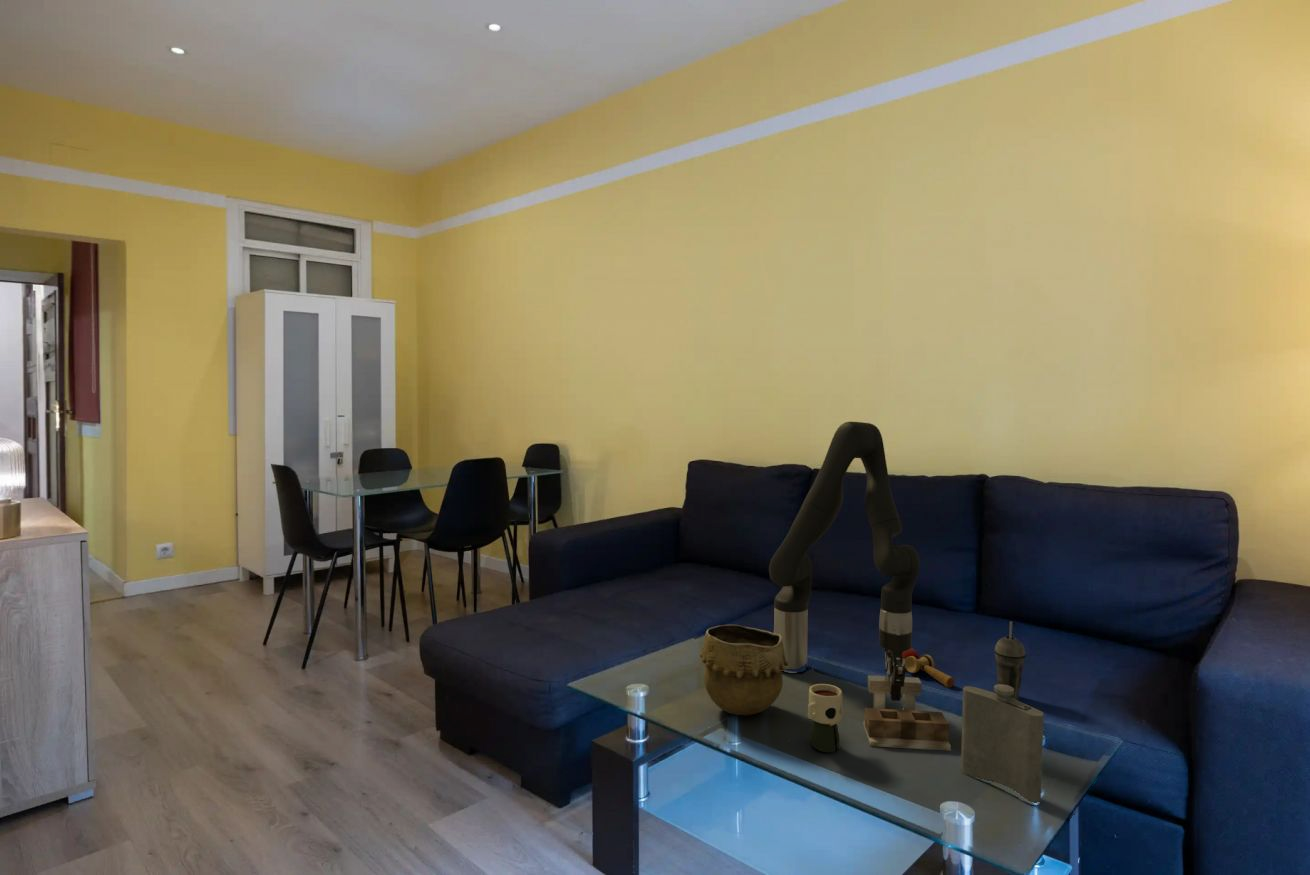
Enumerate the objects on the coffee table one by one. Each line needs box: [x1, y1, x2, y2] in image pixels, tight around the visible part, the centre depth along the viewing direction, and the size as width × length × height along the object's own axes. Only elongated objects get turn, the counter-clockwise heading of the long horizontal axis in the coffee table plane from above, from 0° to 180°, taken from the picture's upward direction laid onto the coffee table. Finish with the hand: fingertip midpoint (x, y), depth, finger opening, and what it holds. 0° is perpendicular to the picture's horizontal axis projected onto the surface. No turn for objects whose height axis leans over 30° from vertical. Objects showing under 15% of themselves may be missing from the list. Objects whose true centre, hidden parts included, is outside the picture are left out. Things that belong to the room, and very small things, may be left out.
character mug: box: [807, 683, 844, 753], centre depth 159 cm, size 11×7×13 cm, turn 127°
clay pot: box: [699, 624, 789, 716], centre depth 176 cm, size 21×21×20 cm
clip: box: [867, 675, 923, 711], centre depth 176 cm, size 12×3×8 cm, turn 83°
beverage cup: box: [993, 620, 1027, 701], centre depth 184 cm, size 7×7×20 cm
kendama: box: [902, 647, 955, 689], centre depth 198 cm, size 8×6×18 cm
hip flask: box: [960, 683, 1045, 803], centre depth 143 cm, size 16×4×20 cm, turn 35°
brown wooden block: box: [862, 707, 952, 752], centre depth 163 cm, size 17×10×5 cm, turn 83°
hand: (894, 696), depth 176 cm, fingers closed on clip, 3 cm apart
